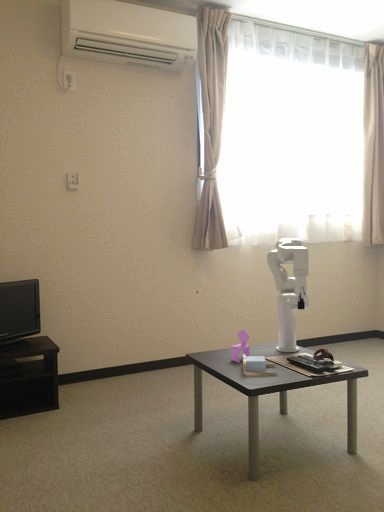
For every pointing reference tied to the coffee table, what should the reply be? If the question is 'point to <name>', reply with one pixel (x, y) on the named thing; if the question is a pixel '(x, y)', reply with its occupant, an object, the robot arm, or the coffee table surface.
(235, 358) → the toy chair
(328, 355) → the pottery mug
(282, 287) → the robot arm
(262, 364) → the carton
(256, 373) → the wooden rack
